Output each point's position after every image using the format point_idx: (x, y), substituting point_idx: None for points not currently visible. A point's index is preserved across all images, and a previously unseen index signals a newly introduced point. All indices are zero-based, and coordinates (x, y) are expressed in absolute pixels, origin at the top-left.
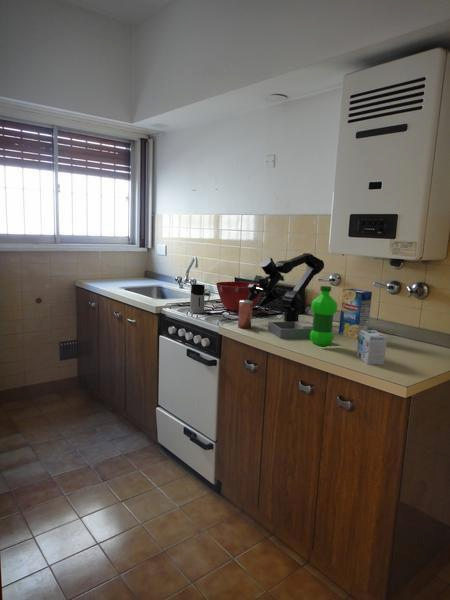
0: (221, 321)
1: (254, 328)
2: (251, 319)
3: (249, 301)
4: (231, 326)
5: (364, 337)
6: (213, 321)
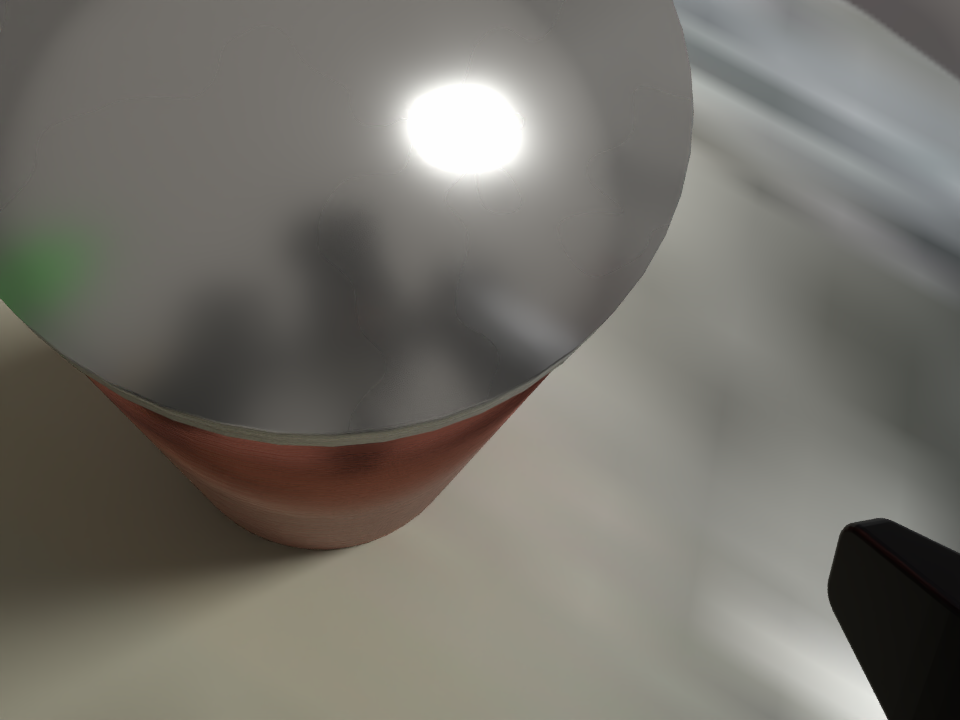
0: (922, 238)
1: (163, 576)
2: (187, 477)
3: (128, 151)
4: None
5: None
6: (935, 105)
